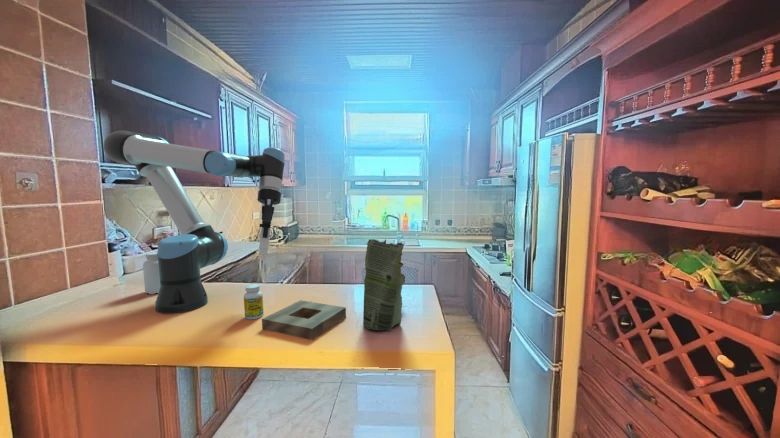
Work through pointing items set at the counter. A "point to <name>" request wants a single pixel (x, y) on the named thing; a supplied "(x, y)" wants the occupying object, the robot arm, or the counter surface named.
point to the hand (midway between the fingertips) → (263, 252)
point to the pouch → (383, 285)
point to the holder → (296, 325)
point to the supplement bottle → (253, 302)
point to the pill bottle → (151, 273)
